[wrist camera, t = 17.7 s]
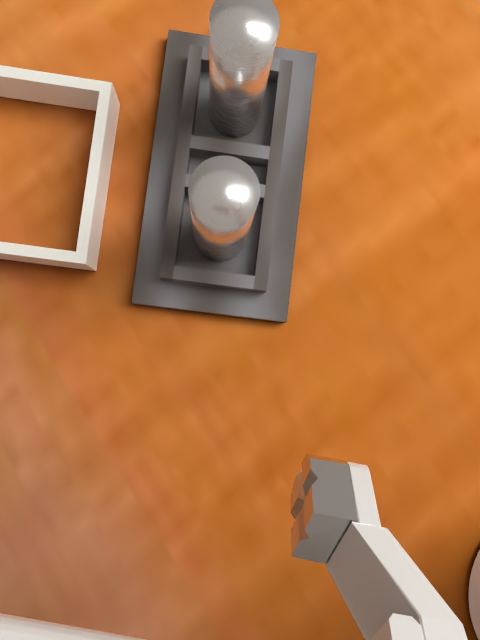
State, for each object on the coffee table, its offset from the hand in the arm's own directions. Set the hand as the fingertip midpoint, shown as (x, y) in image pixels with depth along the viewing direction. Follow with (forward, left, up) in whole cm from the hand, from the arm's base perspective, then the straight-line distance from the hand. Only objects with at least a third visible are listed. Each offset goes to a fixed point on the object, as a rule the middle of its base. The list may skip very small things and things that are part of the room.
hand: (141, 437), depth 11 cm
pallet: (-1, -16, -24) cm, 29 cm away
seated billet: (-1, -21, -23) cm, 31 cm away
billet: (-1, -11, -23) cm, 25 cm away
